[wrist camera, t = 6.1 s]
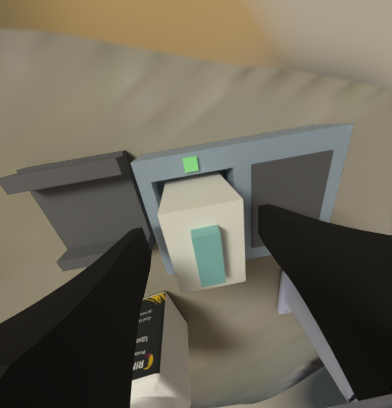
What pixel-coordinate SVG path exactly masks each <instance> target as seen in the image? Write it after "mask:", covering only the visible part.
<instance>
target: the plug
mask: <svg viewBox="0 0 392 408" xmlns="http://www.w3.org/2000/svg"><path fill="white" fill-rule="evenodd" d="M158 219H159V222H160V225H161V229H162V232H163V235H164V239H165V242H166V245H167V249H168V252H169V255H170V259H171V262H172V265H173V269H174V272H175V275H176V279H177V282H178V285H179V289H180V292H181V294H184V293H189V292H194V291H199V290H204V289H209V288H214V287H219V286H224V285H230V284H235V283H240V282H245V281H246V276H245V243H244V210H243V199H242V197H241V196H240V195H239V194H238V193H237V192H236V191H235V190H234V189H233V188H232V187H231V186H230V185H229V183H228V182H227V181H226V180H225V179H224V178H223V177H222V176H221V175H220V174H219V173H218V172H217V171H211V172H206V173H200V174H194V175H189V176H183V177H178V178H172V179H167V180H166V182H165V186H164V191H163V195H162V199H161V203H160V207H159V211H158Z"/></svg>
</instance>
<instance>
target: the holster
mask: <svg viewBox="0 0 392 408" xmlns="http://www.w3.org/2000/svg"><path fill="white" fill-rule="evenodd" d="M16 171H17V172H18V173H17V174H13V175H10V176H6V177H2V178H0V185H1V186H2V188H3V189H4V190H5V192H6V193H7V195H9V194H15V193H20V192H26V191H30V192H31V194H32V195H33V197H34V198H35V200H36V202H37V203H38V205H39V206H40V208H41V209H42V211H43V212H44V214H45V215H46V217H47V218H48V220H49V222H50V223H51V225H52V226H53V228H54V229H55V231H56V232H57V234H58V235H59V237H60V238H61V240H62V241H63V243H64V245H65V246H66V248H67V249H68V250H67V251H66V252H65V253H64V254H63V255H62V256H61V257H60V259H59V260H58V261H57V264H58V265H59V267H60V268H61V269H62V271H67V270H73V269H78V268H83V267H88V266H90V265H91V264H92V263H94V262H95V261H96V260H97V259H98V258H99V257H101V256H102V255H103V254H104V253H105V252H107V251H108V250H109V249H110V248H111V247H112V246H113V245H114V244H116V243H117V242H118V241H119V240H120V239H121V238H122V237H123V236H124V235H125V234H127V233H128V232H129V231H130V230H132V229H135V228H140V227H142V228H143V231H144V233H145V236H146V239H147V242H148V244H149V247H150V250H151V252H152V247H153V245H154V243H155V237H154V234H153V231H152V228H151V225H150V222H149V219H148V216H147V213H146V210H145V207H144V204H143V201H142V198H141V195H140V192H139V189H138V186H137V183H136V180H135V177H134V174H133V171H132V168H131V165H130V162H129V159H128V156H127V153H126V150H125V151H119V152H113V153H108V154H102V155H96V156H90V157H85V158H79V159H73V160H68V161H62V162H56V163H50V164H45V165H39V166H33V167H27V168H23V169H19V170H16Z"/></svg>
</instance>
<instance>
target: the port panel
mask: <svg viewBox="0 0 392 408" xmlns="http://www.w3.org/2000/svg"><path fill="white" fill-rule="evenodd" d="M353 126H354V123H348V124H321V125H310V126H304V127H299V128H293V129H287V130H281V131H276V132H270V133H264V134H259V135H253V136H247V137H242V138H236V139H230V140H225V141H219V142H213V143H207V144H202V145H196V146H190V147H185V148H179V149H173V150H168V151H162V152H156V153H151V154H145V155H141V156H140V157H138V158H137V159H135V160H134V161H132V162H131V166H132V169H133V172H134V175H135V178H136V181H137V184H138V187H139V190H140V193H141V196H142V199H143V203H144V206H145V209H146V212H147V215H148V218H149V221H150V224H151V227H152V230H153V233H154V236H155V239H156V242H157V245H158V248H159V251H160V254H161V257H162V260H163V263H164V266H165V269H166V272H167V275H172V274H175V272H174V269H173V265H172V262H171V259H170V255H169V252H168V249H167V245H166V242H165V239H164V235H163V232H162V229H161V225H160V222H159V219H158V211H159V207H160V203H161V199H162V195H163V191H164V186H165V182H166V180H167V179H172V178H178V177H183V176H189V175H194V174H200V173H206V172H211V171H217V172H218V173H219V174H220V175H221V176H222V177H223V178H224V179H225V180H226V181H227V182H228V183H229V185H230V186H231V187H232V188H233V189H234V190H235V191H236V192H237V193H238V194H239V195H240V196H241V197H242V199H243V210H244V243H245V260H249V259H254V258H259V257H264V256H269V255H271V253H270V252H269V251H268V249H267V248H266V247H265V245H264V243H263V242H262V240H261V238H260V236H259V234H258V206H259V205H265V204H271V205H274V206H278V207H281V208H284V209H287V210H289V211H292V212H295V213H298V214H301V215H304V216H308V217H311V218H314V219H318V220H321V221H324V222H328V223H330V219H331V215H332V211H333V207H334V203H335V199H336V195H337V191H338V187H339V183H340V179H341V174H342V170H343V166H344V162H345V158H346V154H347V150H348V146H349V142H350V138H351V134H352V130H353Z"/></svg>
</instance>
